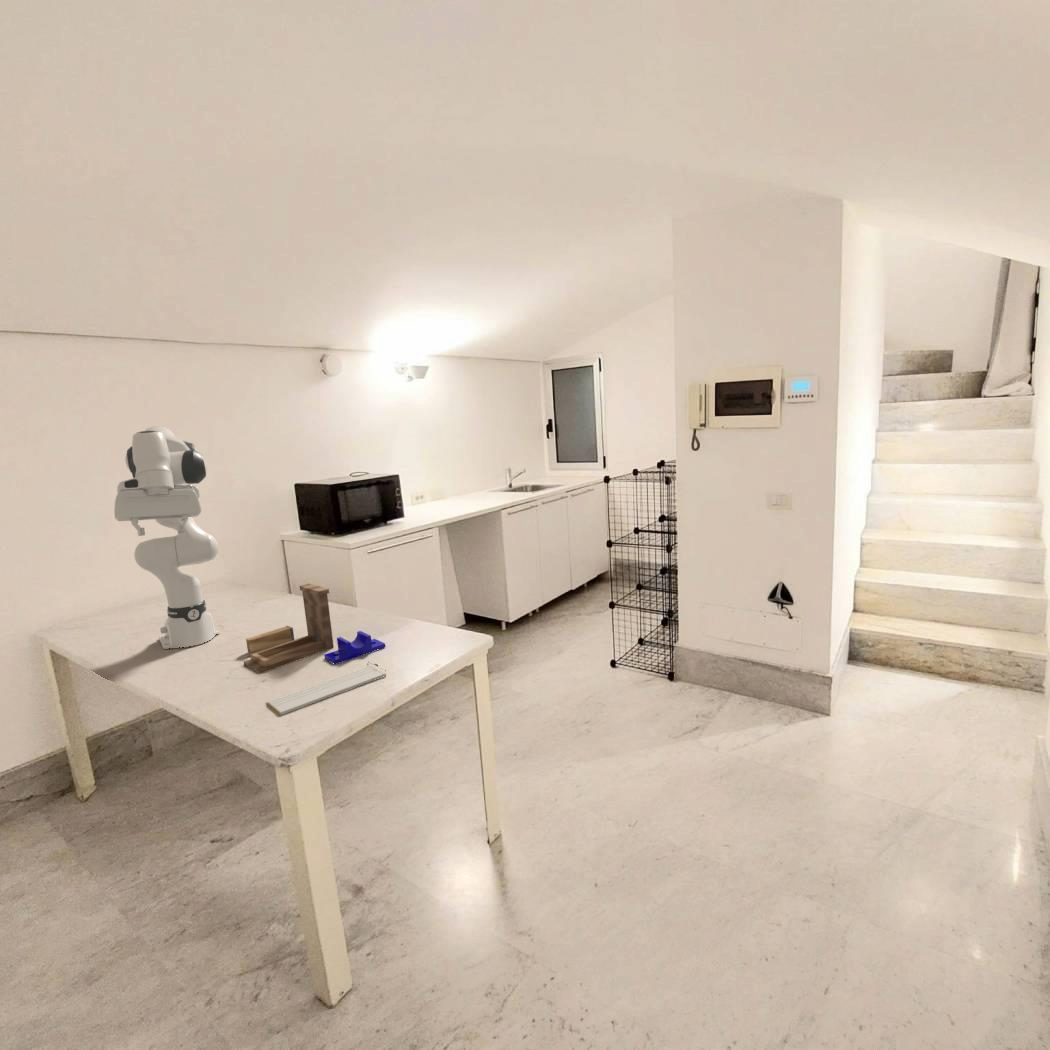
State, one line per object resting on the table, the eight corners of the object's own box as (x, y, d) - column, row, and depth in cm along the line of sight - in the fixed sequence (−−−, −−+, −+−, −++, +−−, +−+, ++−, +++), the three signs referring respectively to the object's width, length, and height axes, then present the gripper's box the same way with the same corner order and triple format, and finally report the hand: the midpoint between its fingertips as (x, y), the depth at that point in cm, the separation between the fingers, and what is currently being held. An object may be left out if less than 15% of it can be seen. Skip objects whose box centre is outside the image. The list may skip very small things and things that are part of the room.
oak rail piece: (247, 652, 203) (245, 638, 202) (289, 639, 214) (287, 625, 213) (252, 655, 200) (250, 640, 199) (294, 641, 211) (292, 627, 210)
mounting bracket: (334, 665, 188) (332, 647, 187) (324, 659, 193) (322, 642, 192) (385, 648, 200) (383, 631, 198) (375, 643, 205) (373, 626, 204)
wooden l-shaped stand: (243, 664, 193) (234, 602, 189) (316, 639, 211) (309, 583, 208) (261, 673, 184) (252, 609, 180) (335, 647, 202) (328, 588, 199)
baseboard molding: (264, 703, 164) (281, 717, 156) (263, 693, 164) (280, 707, 155) (366, 667, 185) (386, 678, 176) (365, 658, 185) (385, 668, 176)
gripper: (195, 488, 174) (202, 533, 171) (110, 491, 161) (116, 540, 158) (199, 480, 169) (206, 527, 166) (112, 482, 156) (118, 533, 154)
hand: (162, 533), depth 162 cm, fingers open, 8 cm apart
